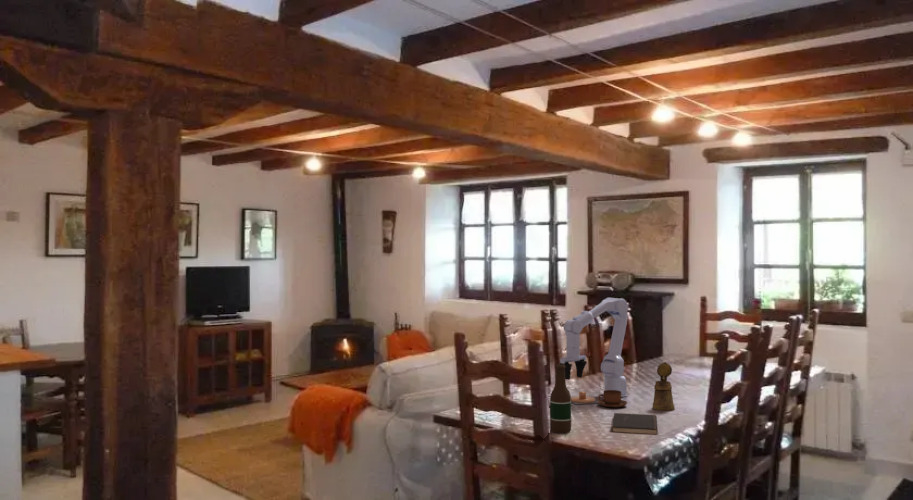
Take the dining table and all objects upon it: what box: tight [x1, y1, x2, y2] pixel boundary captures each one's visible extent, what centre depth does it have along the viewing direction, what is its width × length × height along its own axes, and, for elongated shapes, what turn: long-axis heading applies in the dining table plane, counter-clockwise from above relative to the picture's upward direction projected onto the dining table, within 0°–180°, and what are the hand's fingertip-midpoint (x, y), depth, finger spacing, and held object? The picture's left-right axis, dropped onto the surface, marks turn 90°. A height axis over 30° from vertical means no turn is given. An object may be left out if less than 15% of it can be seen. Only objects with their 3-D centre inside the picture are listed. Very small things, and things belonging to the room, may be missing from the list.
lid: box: [571, 391, 597, 403], centre depth 310 cm, size 11×11×4 cm
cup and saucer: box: [597, 390, 628, 409], centre depth 300 cm, size 12×12×6 cm
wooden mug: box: [652, 361, 675, 412], centre depth 297 cm, size 9×14×18 cm, turn 158°
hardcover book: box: [611, 412, 659, 435], centre depth 266 cm, size 16×23×2 cm
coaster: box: [571, 399, 600, 406], centre depth 310 cm, size 12×12×1 cm
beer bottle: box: [549, 363, 572, 434], centre depth 258 cm, size 8×8×24 cm
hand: (573, 378), depth 311 cm, fingers open, 7 cm apart
